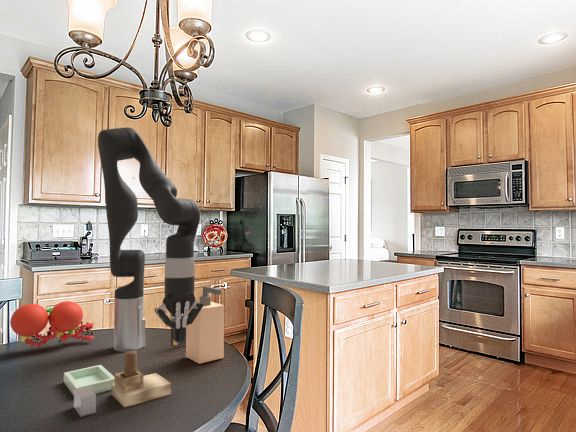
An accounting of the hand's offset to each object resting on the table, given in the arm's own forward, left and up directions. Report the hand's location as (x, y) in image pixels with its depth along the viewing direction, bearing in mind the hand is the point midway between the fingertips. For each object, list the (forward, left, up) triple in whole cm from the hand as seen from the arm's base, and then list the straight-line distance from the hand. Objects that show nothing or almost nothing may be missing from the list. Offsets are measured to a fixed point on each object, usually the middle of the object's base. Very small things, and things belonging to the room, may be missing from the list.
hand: (179, 342), depth 101 cm
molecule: (+18, -57, -11) cm, 60 cm away
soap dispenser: (-15, -12, -11) cm, 22 cm away
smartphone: (-15, -31, -11) cm, 36 cm away
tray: (+18, -14, -11) cm, 25 cm away
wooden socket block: (+10, 0, -11) cm, 15 cm away
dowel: (+12, 0, -8) cm, 15 cm away
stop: (+22, 0, -11) cm, 25 cm away
